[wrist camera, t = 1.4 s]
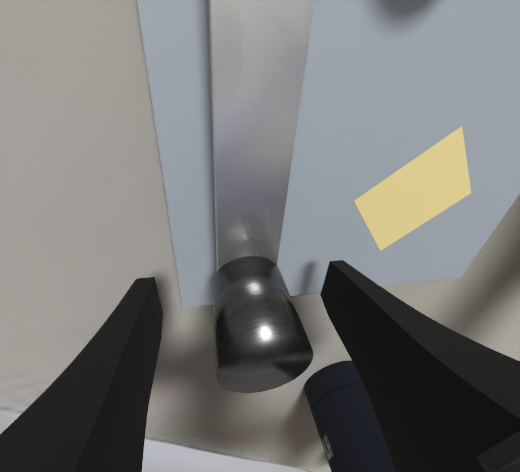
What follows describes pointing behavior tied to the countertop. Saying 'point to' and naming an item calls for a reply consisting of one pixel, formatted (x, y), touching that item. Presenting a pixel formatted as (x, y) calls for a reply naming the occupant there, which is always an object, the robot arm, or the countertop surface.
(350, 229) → the base
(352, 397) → the black water bottle
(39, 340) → the countertop surface
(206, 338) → the countertop surface
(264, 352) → the lever
